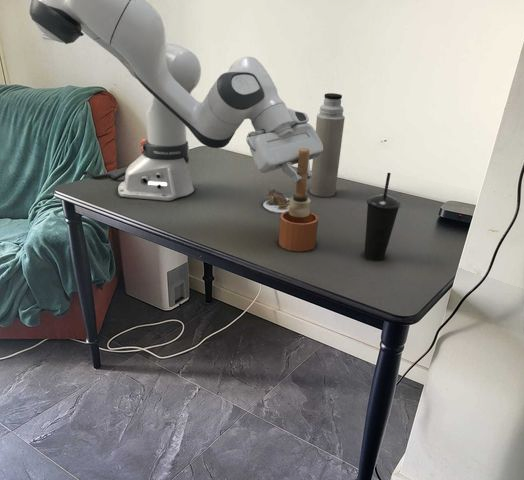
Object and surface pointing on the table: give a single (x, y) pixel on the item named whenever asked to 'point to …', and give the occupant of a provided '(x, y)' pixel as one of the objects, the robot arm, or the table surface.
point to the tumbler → (298, 232)
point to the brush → (301, 188)
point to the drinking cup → (380, 223)
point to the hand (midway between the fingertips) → (303, 179)
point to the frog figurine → (277, 202)
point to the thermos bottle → (328, 146)
